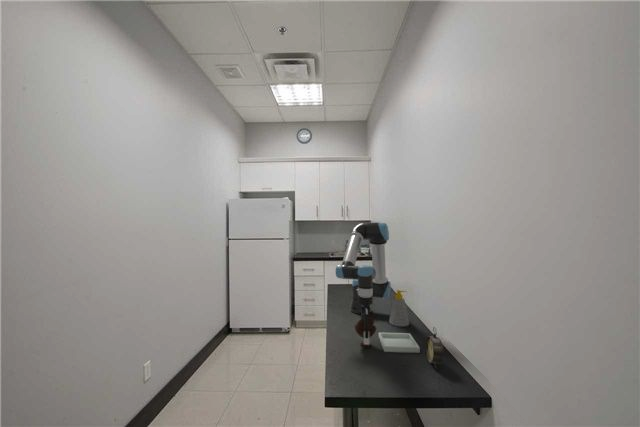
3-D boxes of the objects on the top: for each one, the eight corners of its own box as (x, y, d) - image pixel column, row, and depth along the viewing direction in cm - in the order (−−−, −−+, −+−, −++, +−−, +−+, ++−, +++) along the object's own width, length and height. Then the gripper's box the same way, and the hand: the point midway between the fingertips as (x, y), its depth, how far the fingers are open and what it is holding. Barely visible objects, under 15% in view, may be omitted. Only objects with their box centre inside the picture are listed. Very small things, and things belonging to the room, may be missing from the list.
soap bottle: (407, 328, 161) (407, 293, 162) (386, 324, 167) (386, 291, 168) (411, 321, 172) (410, 289, 173) (391, 318, 178) (391, 287, 179)
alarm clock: (425, 358, 125) (425, 322, 126) (437, 358, 125) (437, 323, 125) (432, 370, 115) (432, 332, 115) (446, 371, 114) (445, 332, 115)
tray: (378, 337, 148) (378, 332, 148) (409, 337, 147) (409, 333, 147) (384, 351, 131) (384, 346, 131) (419, 352, 130) (419, 347, 130)
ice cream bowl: (362, 339, 146) (362, 311, 146) (380, 345, 138) (380, 316, 138) (350, 345, 138) (350, 315, 139) (368, 352, 130) (368, 321, 131)
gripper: (356, 290, 151) (355, 330, 150) (360, 302, 128) (360, 349, 127) (369, 290, 150) (369, 330, 149) (376, 302, 127) (376, 349, 126)
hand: (365, 339), depth 138 cm, fingers closed on ice cream bowl, 11 cm apart
